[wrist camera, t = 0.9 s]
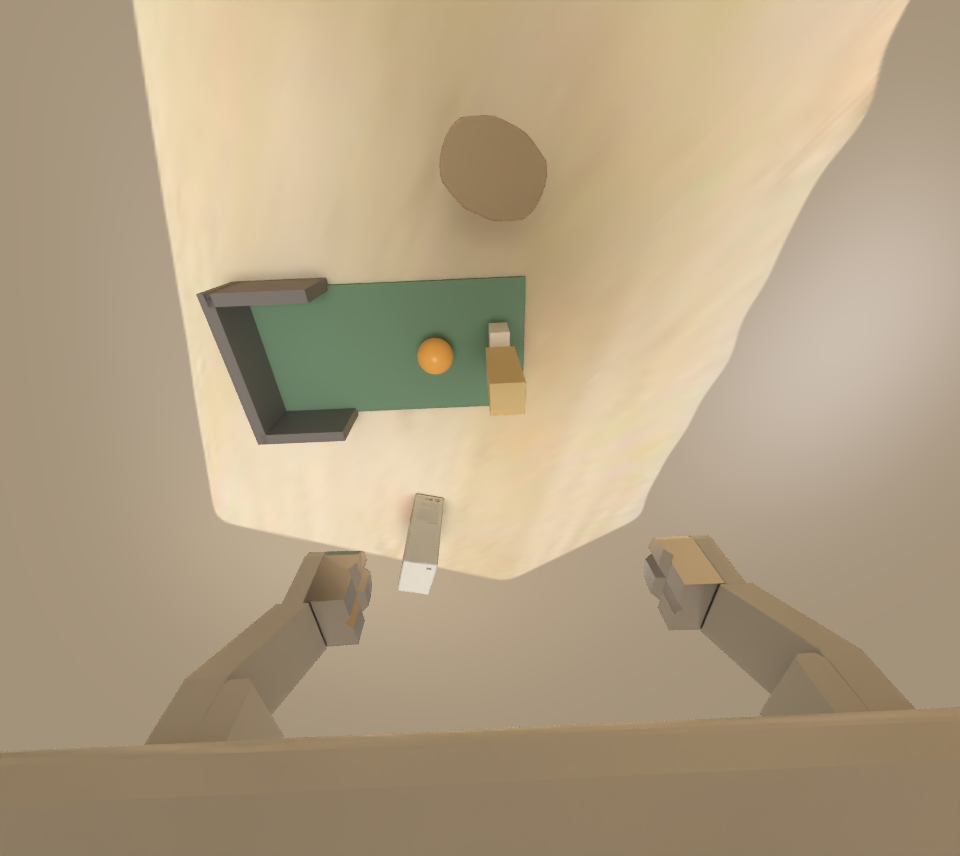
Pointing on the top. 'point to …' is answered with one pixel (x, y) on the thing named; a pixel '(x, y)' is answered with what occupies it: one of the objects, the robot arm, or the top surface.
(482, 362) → the pitch
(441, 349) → the ball
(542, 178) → the handle
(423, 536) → the skincare box
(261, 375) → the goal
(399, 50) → the top surface
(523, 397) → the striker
